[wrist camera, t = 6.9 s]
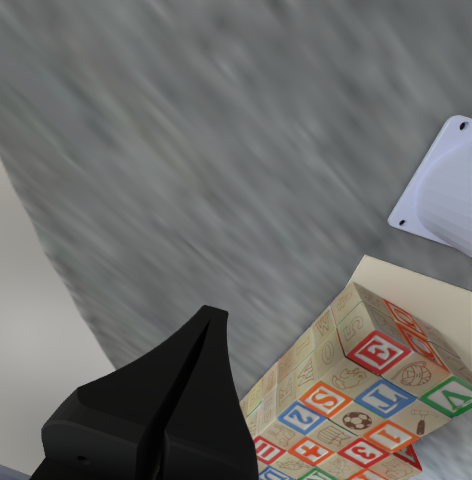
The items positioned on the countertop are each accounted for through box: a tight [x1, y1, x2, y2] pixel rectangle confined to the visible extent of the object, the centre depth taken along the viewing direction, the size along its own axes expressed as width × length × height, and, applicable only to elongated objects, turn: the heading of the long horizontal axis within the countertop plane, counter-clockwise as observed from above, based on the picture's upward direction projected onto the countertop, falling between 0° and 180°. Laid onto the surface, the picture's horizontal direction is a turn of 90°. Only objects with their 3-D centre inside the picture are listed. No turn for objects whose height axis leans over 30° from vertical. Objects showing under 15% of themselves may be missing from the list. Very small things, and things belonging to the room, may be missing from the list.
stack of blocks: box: [240, 281, 472, 480], centre depth 23 cm, size 21×6×12 cm
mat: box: [345, 255, 472, 372], centre depth 25 cm, size 14×26×1 cm, turn 163°
